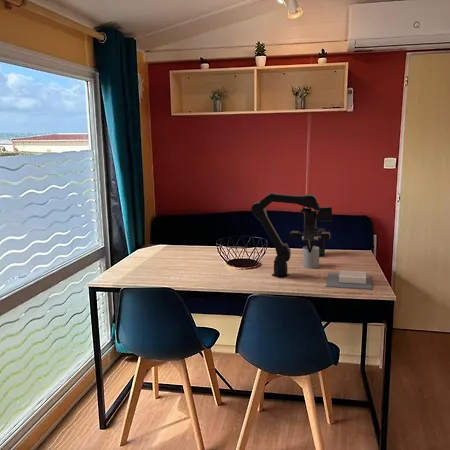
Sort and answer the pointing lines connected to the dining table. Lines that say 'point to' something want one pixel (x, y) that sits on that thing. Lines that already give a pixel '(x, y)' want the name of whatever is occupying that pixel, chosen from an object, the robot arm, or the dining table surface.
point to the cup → (311, 257)
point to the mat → (334, 282)
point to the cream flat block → (352, 277)
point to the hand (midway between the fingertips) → (309, 252)
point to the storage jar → (320, 243)
